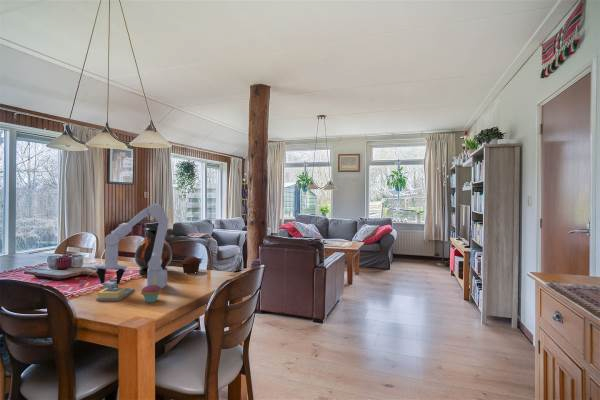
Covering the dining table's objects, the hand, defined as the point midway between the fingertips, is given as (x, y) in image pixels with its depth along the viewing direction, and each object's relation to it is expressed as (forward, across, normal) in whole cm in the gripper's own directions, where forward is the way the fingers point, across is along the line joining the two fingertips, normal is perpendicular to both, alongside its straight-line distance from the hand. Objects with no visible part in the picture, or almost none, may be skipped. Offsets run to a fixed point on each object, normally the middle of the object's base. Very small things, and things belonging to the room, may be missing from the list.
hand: (110, 283), depth 162 cm
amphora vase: (+3, -8, -37) cm, 38 cm away
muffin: (+3, -31, -38) cm, 49 cm away
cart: (+3, 0, 0) cm, 3 cm away
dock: (+3, -8, +11) cm, 14 cm away
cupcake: (+3, -27, +19) cm, 33 cm away
